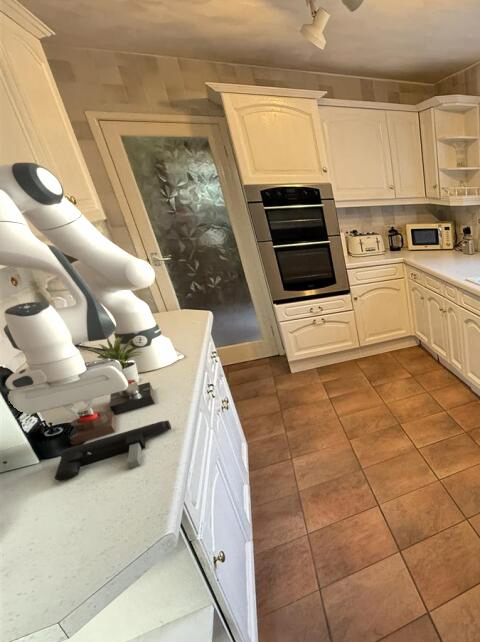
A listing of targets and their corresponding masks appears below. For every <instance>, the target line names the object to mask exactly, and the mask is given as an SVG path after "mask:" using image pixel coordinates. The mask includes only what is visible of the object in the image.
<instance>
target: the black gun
mask: <svg viewBox="0 0 480 642" xmlns="http://www.w3.org/2000/svg"><path fill="white" fill-rule="evenodd" d="M171 430H172V424H171V422H170V421H169V420H168V419H167V420H160V421H158V422H154V423H151V424H147V425H143V426H140V427H137V428H134V429H130V430H127V431H124V432H119V433H116V434H113V435H110V436H105V437H101V438H99V439H95V440H93V441H92V440H91V441H89V442H84V443H83V444H77V445H74V446H71V447H69V448H65V449H64V450H62V452H61V453H60V461H59V463H58V467H57V469H56V472H55V475H54V480H56V481H59V482H63V481H69V480H72V479H74V478H76V477H77V476H78V475H79V474H80V471H81V468H83V467H87V466H89V465H93V464H95V463H99V462H101V461H105V460H109V459H112V458H115V457H118V456H121V455H124V454H128V456H127V465H128V467H129V468H130V469H134V468H137V467H139V466H141V459H142V450H145V449H146V446H147V444H146V443H147V438H150V437H153V436H157V435H161V434H164V433H167V432H168V431H171Z"/></svg>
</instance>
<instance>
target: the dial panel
mask: <svg viewBox="0 0 480 642" xmlns="http://www.w3.org/2000/svg"><path fill="white" fill-rule="evenodd" d="M137 385H138V387H139V389H140V392H139V393H137V394H135V395H132V396H128V397H121V396H120V394H119V392H116V393H112V394H110V399H109V409H110V412H112V411H113V413H114V414H115V416H118V415H120V414H125V413H129V412H132V411H135V410H139V409H142V408H146V407H149V406H152V405H155V404H156V403H155V402H156V401H155V394H154V393H155V392H154V389H153V386H152V384H151V382H150V381H148V382H145V383H140V384H137Z"/></svg>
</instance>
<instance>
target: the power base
mask: <svg viewBox="0 0 480 642" xmlns="http://www.w3.org/2000/svg"><path fill="white" fill-rule="evenodd" d="M95 412H96V413H97V414H98V416H99V417H97V418H96V419H93V420H91V421H87V422H83V423H80V422H79V421H78V419H77V417H75V419H73V420H72V421H71V422H70V427H71V426H73V427H75V428H76V429H77V430H78V432H77V434H75V435H73V436H72V437H70V439H72V440H73V442H70V444H71V446H76V445H79V444H81V443H86V442H88V441H92V440H96V439H98V438H102V437H106V436H108V435H111V434H114V433H116V428H117V427H116V426H117V417H116V416H117V415H115V414H114V413H113V411H108V412H106V411H101V410H100V411H95Z"/></svg>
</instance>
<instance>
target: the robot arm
mask: <svg viewBox="0 0 480 642" xmlns="http://www.w3.org/2000/svg"><path fill="white" fill-rule="evenodd" d="M64 194H65V193H64V188H63V185H62V183H61V182H60V180H59V179H58V178H57V176H55V174H54V173H53V172H52V171H51V170H49V169H47V168H45V167H44V166H42V165H40V164H37V163H35V162H15V163H13V164H3V165H1V164H0V266H4V267H8V268H16V269H25V270H33V271H39V272H43V273H47V274H50V275H53V276H54V277H56V278H57V279H58V280H59V281H60V282H61V284H62V285H63V286H64V288H65V289H66V291H67V292H68V293H69V294H70V296H71V297H72V298H73V300H74V301H75V304H74V305H70V306H64V307H59V308H54V307H53V305H51V304H50V303H48V302H44V301H30V302H23V303H18V304H16V305H13V306H10V307H8V308H6V309H5V310H4V312H3V316H4V320H5V323H6V324H5V326H4V327H3V332H4V334H5V335H6V338H7V339H8V340H9V343H10V344H11V346H12V348H14V349H16V350H18V351H20V352H22V353H23V354H24V356H25V362H26V364H27V367H25V368H23V369H20V370H18V371H16V372H13V373H11V374H10V375H9V376H8V377H7V378H6V381H5V386H6V388H7V389H8V390H9V391H8V393H9V394H8V393H7V400H8V402H9V401H10V403H11V404H12V405H13V407H14V408H16V409H17V410H18V411H20V412H23V413H26V414H27V416H30V415H34V414H37V413H42V412H46V411H50V410H53V409H57V408H61V407H62V408H63V409H64V411H67V412H69V413H71V414H74V416H75V418H77V419H80V418H83V417H87V416H90V415H93V412H94V410H93V409H92V407H93V404H94V399H96V398H101V397H104V396H108V395H111V394H112V393H116V392H120V391H124V390H126V389H127V387H128V381H127V379H126V378H125V376H124V375H123V373H122V372H121V371H122V366H121V364H120V362H119V361H118V360H115V359H110V358H106V359H102V358H101V359H98V360H92V361H87V362H86V361H85V359H84V358H83V356H82V354H81V351H80V350H79V348H82V349H86V350H93V351H96V350H98V351H101V352H104V353H105V352H106V351H105V350H104V349H103V348H101V347H96V346H88V345H83V344H82V345H75V346H76V347H75V346H74V345H73V344H78V343H87V342H96V341H103V340H107V338H110V337H111V336H112V335H114V339H115V340H116V338H117V337H119V340H120V339H121V338H122V339H121V341H120V350H121V349H122V348H123V347H124V346H126V344H127V343H128V342H129V341H130V340H131V339H133V338H134V339H133V340H132V341H131V342H130V343H131V344H129V345H132V346H129V345H128V347H126V349H127V350H129V349H131V348H134V347H138V346H142V347H139V348H137V349H135V350H133V351H132V352H131V353H130V354H132V353H134V352H143V353H134V354H140V355H137V356H133V357H130V356H132V355H134V354H132V355H130V354H129V355H130V356H129V357H130V358H131V359H130V358H128V362H135V363H136V367H137V372H138V374H140V373H145V372H146V373H147V372H150V371H155V370H158V369H162V368H164V367H165V368H166V367H167V366H169V365H172V364H173V363H175V362H177V361H179V360H182V359H184V358H185V356H184V354H183V353H181V352H179V351H178V350H176V349H175V347H174V346H173V344H172V342H171V340H170V338H168V337H166V336H165V335H163V334H162V331H161V330H162V329H161V327H160V326H159V324H158V323H156V320H155V318H154V315H153V313H152V311H151V309H150V305H148V303H147V302H145V301H144V300H142V299H141V298H139V297H137V296H136V295H135V294H134V293H133V292H132V291H139V290H142V289H146V288H149V287H151V286H152V285H153V284H154V282H155V279H156V273H155V270H154V268H153V266H152V265H151V264H150V263H149V262H147V261H146V260H145V259H141V258H139V257H136V256H134V255H132V254H130V253H129V252H127V251H126V250H124V249H122V248H121V247H119V246H118V245H116V244H115V243H114V242H113V241H111V240H109V239H108V238H107V237H106V236H104V235H103V234H102V233H101V232H100V231H99V230H98V229H97V228H96V227H95V226H94V224H92V223H91V222H90V221H89V220H88V219H87V217H86V216H85V215H84V214H83V213H82V212H81V211H80V210H79V208H77V207H76V206H75V205H74V204H73V203H72V202H71V200H68V199H67V198H66V197H65V196H64ZM27 221H28V222H29V223H30V224H31V225H32V226H33V227H34V228H35V229H36V230H37V231H38V232H39V233H40V234H41V235H42V236H44V238H45V239H46V240H48V241H49V242H50V243H51V244H52V245H50V244H46V243H44V242H43V241H41V240H40V239H39V238H38V237H36V236H35V234H33V232H32V231H31V228H30V226H29V224H28V223H27ZM65 255H66V256H69V257H72V258H73V259H75V260H76V261H73V262H70V261H69V260H68V258H67V257H66V256H65ZM135 337H136V338H135ZM133 342H134V343H133ZM144 345H145V346H144ZM91 348H93V349H91ZM94 349H96V350H94ZM123 349H124V348H123ZM127 350H125V351H124V353H125V352H126V351H127ZM122 351H123V350H122ZM121 353H123V352H121ZM141 355H142V356H141ZM129 359H130V360H129ZM110 361H111V362H110ZM126 362H127V361H126ZM10 390H11V391H10ZM80 402H81V403H82V402H84V404H85V405H87V407H85V408H81V409H77V408H76V407H74V404H77V403H80ZM10 403H9V404H10Z"/></svg>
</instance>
